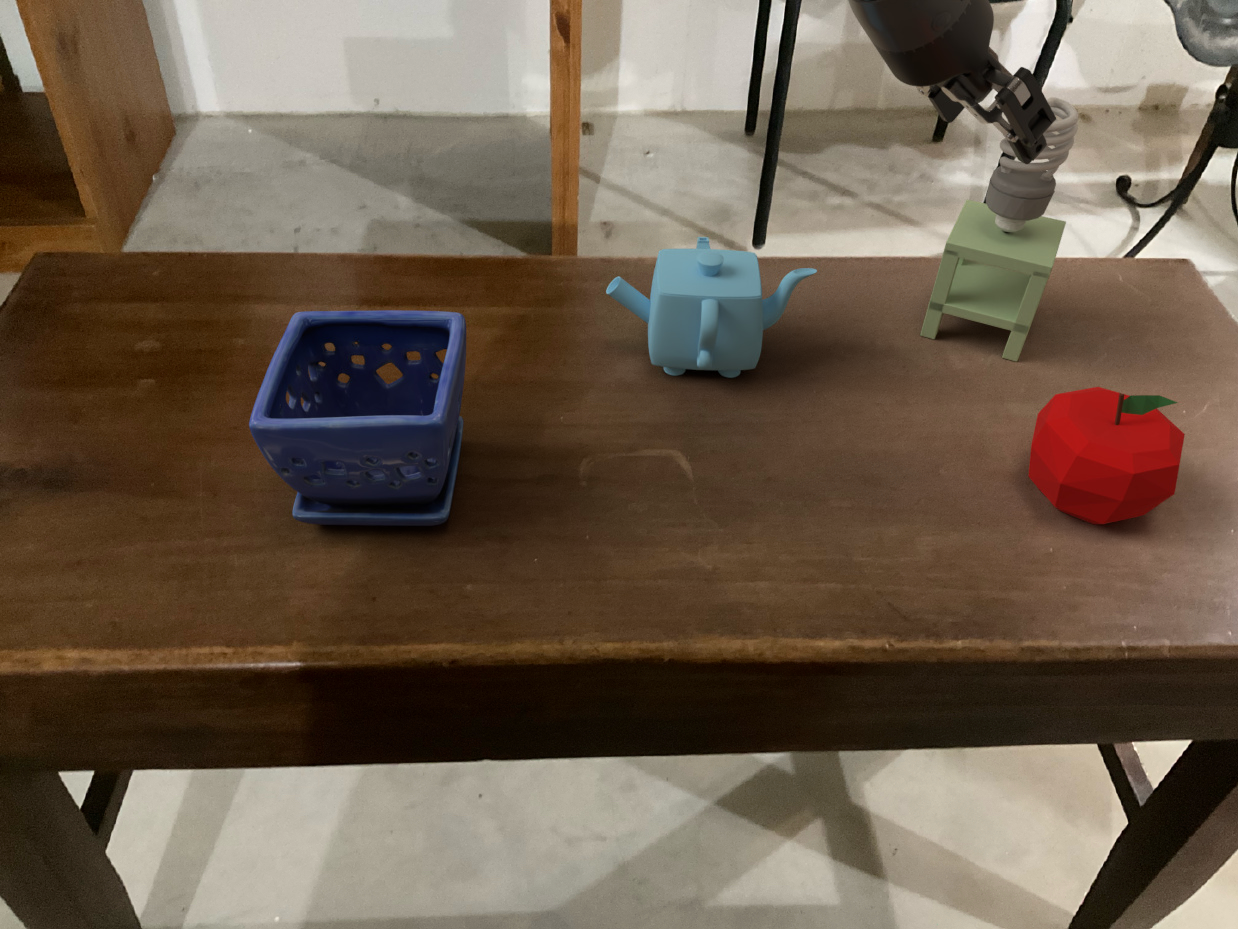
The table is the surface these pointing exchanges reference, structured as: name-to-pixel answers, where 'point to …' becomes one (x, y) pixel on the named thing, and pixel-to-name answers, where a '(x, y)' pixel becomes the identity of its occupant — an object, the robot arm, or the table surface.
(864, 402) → the table surface
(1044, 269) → the green side table
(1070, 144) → the light bulb
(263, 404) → the flower pot
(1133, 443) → the apple
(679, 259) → the teapot
